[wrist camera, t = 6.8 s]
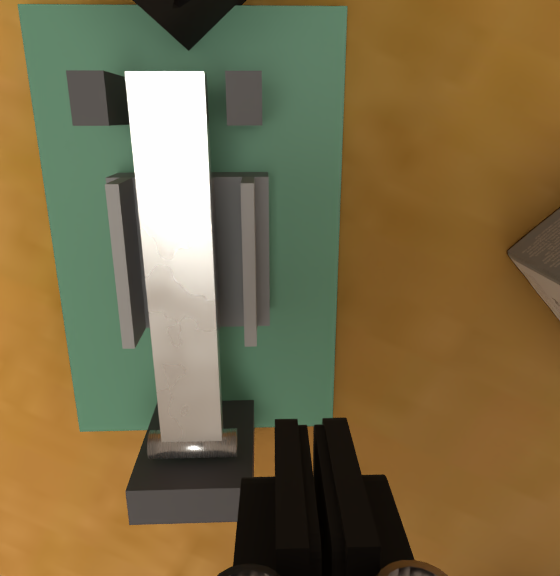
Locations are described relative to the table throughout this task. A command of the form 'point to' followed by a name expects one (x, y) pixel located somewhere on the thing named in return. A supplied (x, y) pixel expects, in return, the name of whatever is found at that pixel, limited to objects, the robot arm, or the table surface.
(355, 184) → the table surface
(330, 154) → the board
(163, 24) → the electrical component
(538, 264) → the hard drive box
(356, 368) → the table surface
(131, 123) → the grey long flat bar
